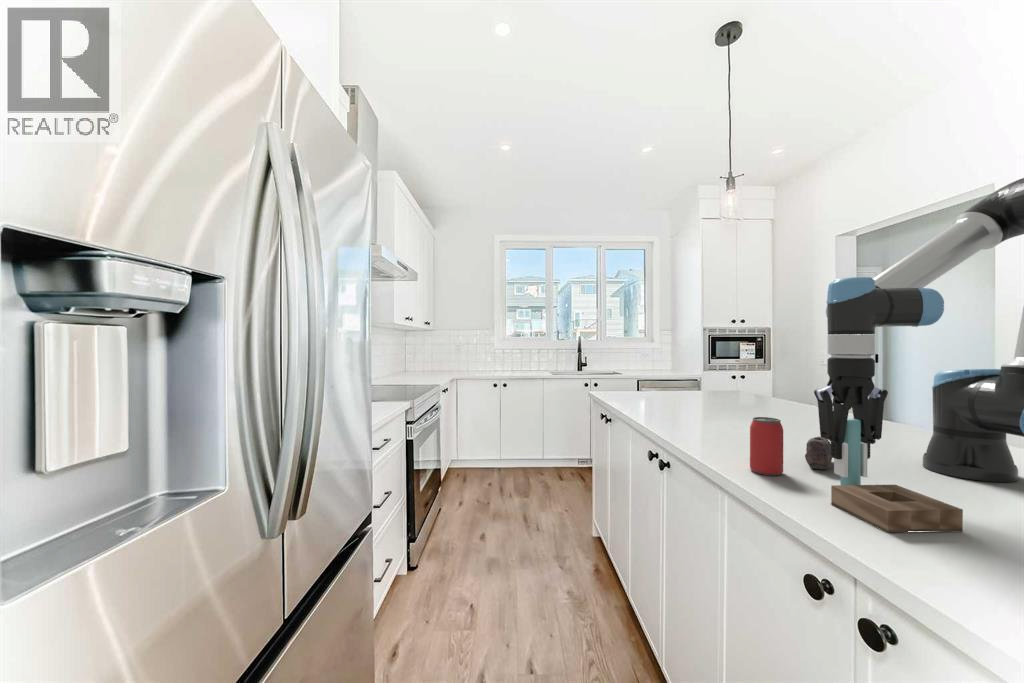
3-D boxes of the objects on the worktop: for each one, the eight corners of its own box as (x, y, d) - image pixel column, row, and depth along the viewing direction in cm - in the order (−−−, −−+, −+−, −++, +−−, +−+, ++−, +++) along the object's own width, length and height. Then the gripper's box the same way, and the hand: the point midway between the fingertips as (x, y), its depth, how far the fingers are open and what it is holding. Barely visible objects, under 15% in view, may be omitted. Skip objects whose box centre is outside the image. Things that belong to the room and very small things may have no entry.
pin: (852, 487, 92) (852, 418, 91) (864, 492, 88) (865, 421, 88) (836, 487, 91) (836, 418, 91) (848, 493, 88) (848, 421, 88)
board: (895, 503, 83) (895, 484, 83) (962, 531, 71) (962, 509, 71) (831, 504, 83) (831, 485, 83) (888, 533, 71) (888, 510, 71)
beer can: (788, 477, 99) (788, 422, 99) (755, 475, 100) (755, 421, 100) (776, 468, 105) (777, 417, 105) (746, 467, 106) (746, 416, 106)
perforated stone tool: (810, 457, 116) (810, 429, 116) (835, 460, 112) (836, 432, 112) (802, 470, 104) (802, 440, 104) (830, 475, 101) (830, 443, 101)
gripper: (874, 355, 94) (874, 468, 94) (797, 356, 93) (797, 470, 93) (907, 357, 86) (907, 480, 86) (824, 357, 86) (824, 481, 86)
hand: (850, 474), depth 90 cm, fingers closed on pin, 3 cm apart
